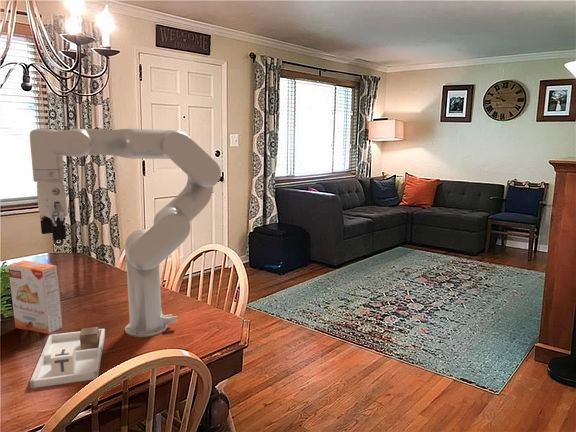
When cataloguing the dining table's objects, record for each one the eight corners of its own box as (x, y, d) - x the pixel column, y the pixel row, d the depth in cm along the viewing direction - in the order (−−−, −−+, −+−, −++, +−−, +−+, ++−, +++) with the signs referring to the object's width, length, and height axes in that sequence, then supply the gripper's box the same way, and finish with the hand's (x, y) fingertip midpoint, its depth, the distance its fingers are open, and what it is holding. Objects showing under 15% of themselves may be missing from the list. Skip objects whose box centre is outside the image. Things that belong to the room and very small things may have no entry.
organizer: (105, 335, 140) (104, 328, 139) (98, 380, 115) (97, 372, 115) (50, 342, 135) (49, 334, 135) (30, 390, 111) (29, 381, 110)
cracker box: (14, 329, 144) (6, 264, 140) (30, 321, 149) (24, 259, 145) (47, 336, 139) (41, 270, 135) (63, 328, 144) (57, 264, 140)
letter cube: (76, 364, 122) (74, 346, 121) (73, 373, 117) (72, 355, 116) (55, 366, 121) (53, 348, 120) (52, 376, 116) (50, 358, 115)
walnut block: (99, 341, 135) (98, 326, 134) (98, 348, 131) (96, 333, 130) (82, 343, 134) (81, 328, 133) (80, 350, 130) (79, 335, 129)
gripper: (74, 177, 122) (79, 240, 125) (52, 171, 134) (57, 229, 138) (44, 179, 117) (49, 244, 120) (24, 173, 129) (29, 232, 132)
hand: (53, 236), depth 129 cm, fingers open, 9 cm apart
